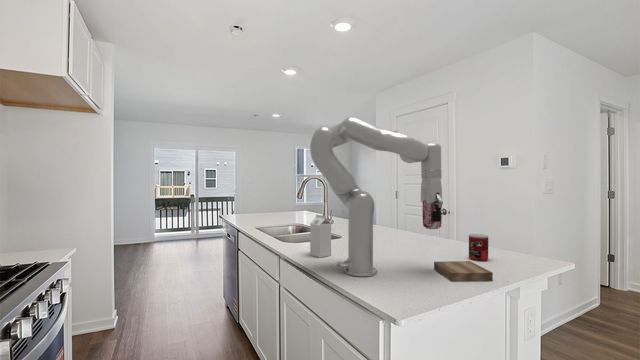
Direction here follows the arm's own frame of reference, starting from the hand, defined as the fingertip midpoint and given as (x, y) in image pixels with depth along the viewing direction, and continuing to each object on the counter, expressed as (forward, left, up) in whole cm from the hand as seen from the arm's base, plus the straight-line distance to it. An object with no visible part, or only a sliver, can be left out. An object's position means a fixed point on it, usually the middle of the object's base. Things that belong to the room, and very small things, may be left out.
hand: (432, 219), depth 122 cm
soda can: (0, 0, -4) cm, 4 cm away
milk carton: (-43, +26, -21) cm, 54 cm away
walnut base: (+9, -5, -20) cm, 23 cm away
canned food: (+28, +16, -21) cm, 39 cm away
